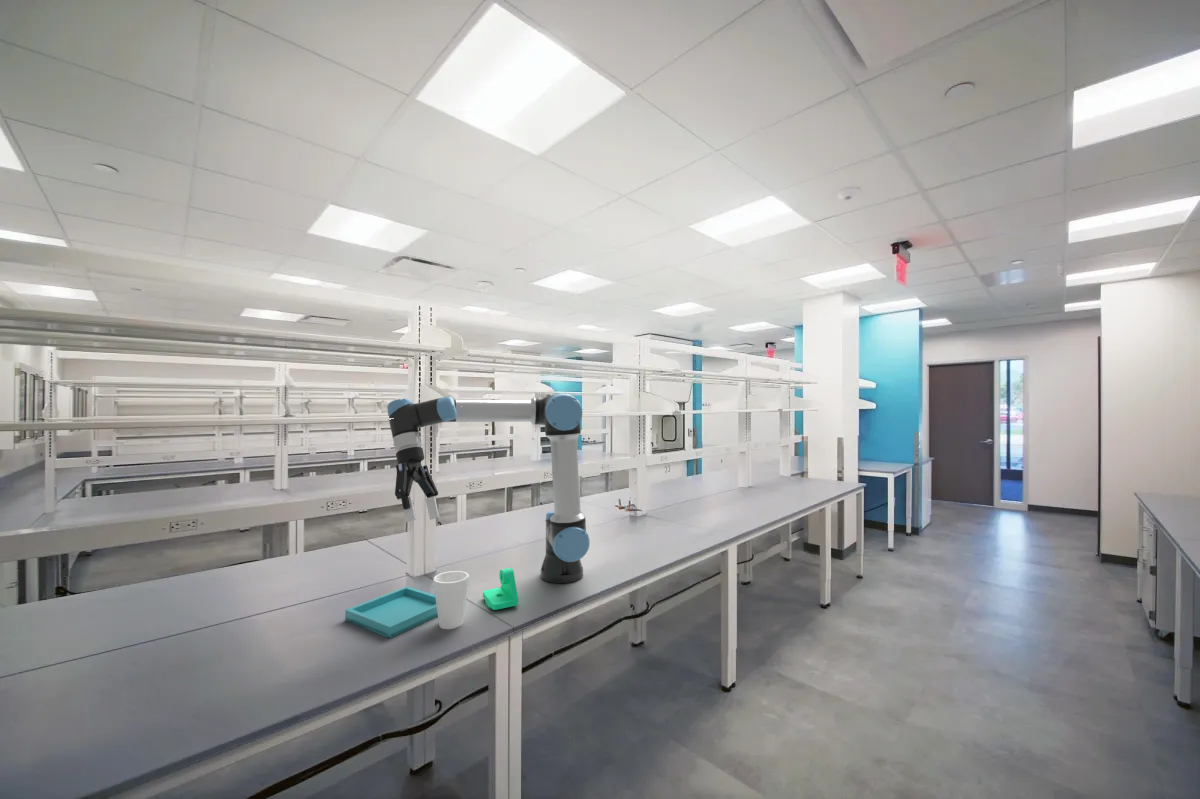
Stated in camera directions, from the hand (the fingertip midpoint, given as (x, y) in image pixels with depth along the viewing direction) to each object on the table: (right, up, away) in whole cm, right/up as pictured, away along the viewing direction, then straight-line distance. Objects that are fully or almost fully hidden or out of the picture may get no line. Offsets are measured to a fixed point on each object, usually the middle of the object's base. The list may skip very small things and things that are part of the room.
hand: (423, 519), depth 135 cm
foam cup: (+10, -28, -5) cm, 30 cm away
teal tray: (-7, -28, 0) cm, 28 cm away
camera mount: (+20, -28, +8) cm, 36 cm away
